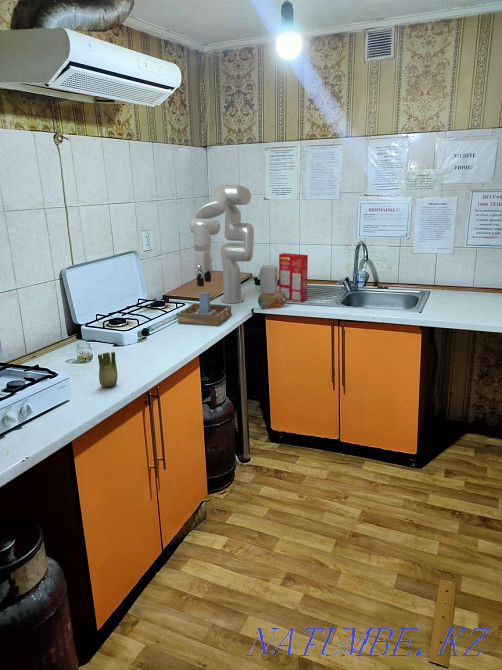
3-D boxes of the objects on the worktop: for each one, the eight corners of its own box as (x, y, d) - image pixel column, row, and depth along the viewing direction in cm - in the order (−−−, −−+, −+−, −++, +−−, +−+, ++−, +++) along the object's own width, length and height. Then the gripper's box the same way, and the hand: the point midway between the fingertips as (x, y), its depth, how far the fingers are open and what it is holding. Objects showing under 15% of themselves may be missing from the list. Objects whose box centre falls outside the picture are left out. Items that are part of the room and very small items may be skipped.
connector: (203, 316, 253) (202, 292, 250) (210, 316, 252) (209, 292, 249) (200, 318, 250) (199, 293, 246) (208, 318, 249) (207, 294, 245)
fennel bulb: (118, 382, 177) (115, 349, 173) (117, 388, 172) (114, 354, 169) (101, 384, 176) (97, 350, 172) (99, 389, 171) (95, 355, 168)
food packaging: (306, 300, 285) (307, 254, 278) (302, 302, 281) (303, 256, 274) (283, 297, 293) (284, 253, 286) (279, 299, 289) (279, 254, 282)
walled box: (194, 313, 263) (193, 303, 262) (231, 315, 258) (231, 305, 256) (178, 323, 245) (177, 313, 243) (218, 326, 239) (217, 316, 238)
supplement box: (275, 293, 302) (275, 268, 298) (260, 293, 304) (259, 267, 300) (277, 290, 311) (277, 265, 306) (263, 289, 313) (263, 265, 308)
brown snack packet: (259, 309, 268) (258, 293, 265) (257, 308, 270) (257, 292, 268) (286, 307, 271) (286, 291, 269) (284, 306, 274) (284, 290, 272)
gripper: (201, 244, 250) (203, 279, 255) (187, 250, 234) (190, 287, 240) (216, 245, 248) (217, 280, 253) (203, 251, 232) (205, 288, 238)
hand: (204, 283), depth 247 cm, fingers open, 9 cm apart
